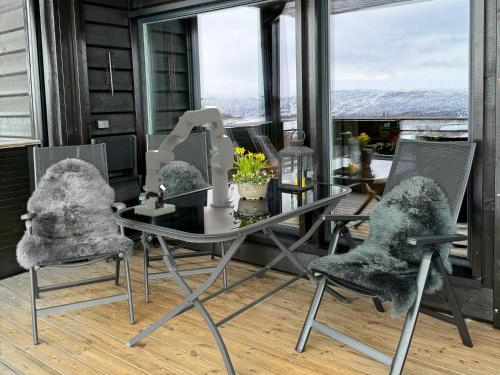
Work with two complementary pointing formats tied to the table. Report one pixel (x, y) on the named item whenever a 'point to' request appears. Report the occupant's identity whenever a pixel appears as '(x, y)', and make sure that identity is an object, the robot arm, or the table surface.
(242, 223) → the table surface
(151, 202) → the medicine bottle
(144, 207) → the tray
